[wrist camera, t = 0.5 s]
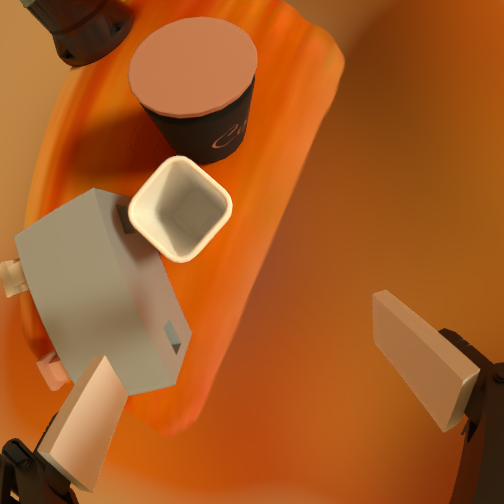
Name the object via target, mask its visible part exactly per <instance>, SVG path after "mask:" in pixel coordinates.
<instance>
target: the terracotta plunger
mask: <svg viewBox="0 0 504 504" xmlns="http://www.w3.org/2000/svg"><path fill="white" fill-rule="evenodd" d="M36 364H37V366H38V368H39V370H40V372H41V374H42V375H43V377H44V379H45V381H46V382H47V384H48V386H49V387H50V389H51V391H55V390H59V389H60V387H61V386H62V385H63V384H64V383H65V382H66V381H67V380H68V379H71V378H70V376H69V374H68V372H67V371H66V369H65V367H64V365H63V363H62V361H61V360H60V358H59V356H58V354H57V352H56V350H55V349H54V350H51V351H50V352H48V353H47V354H46V355H44V356H43V357H42V358H41V359H39V360H38V361H37V362H36Z"/></svg>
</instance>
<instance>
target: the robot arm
mask: <svg viewBox="0 0 504 504" xmlns="http://www.w3.org/2000/svg"><path fill="white" fill-rule="evenodd" d="M20 1H21V3H22V4H23V6H24V8H27V9H28V10H29V11H30V12H31V14H33V16H34V17H35V18H36V19H37V20H38V21H39V22H40V23H41V24H42V25H43V26H44V27H45V28H46V29H47V30H48V31H49V32H50V33H51V34H52V36H53V40H54V43H55V47H56V50H57V53H58V55H59V57H60V58H61V59H62V60H63V61H64V62H65V63H66V64H68V65H70V66H82V65H86V64H89V63H92V62H94V61H96V60H98V59H100V58H102V57H104V56H105V55H107V54H108V53H110V52H111V51H112V50H114V49H115V48H116V47H117V46H118V45H119V44H120V43H121V42H122V41H123V40H124V39H125V38H126V36H127V35H128V33H129V32H130V30H131V28H132V25H133V15H132V13H131V10H130V8H129V7H128V6H127V5H126V4H125V3H124V2H122V1H121V0H20ZM372 302H373V327H374V328H373V331H374V343H375V344H376V345H377V347H378V348H379V349H380V350H381V352H382V353H383V354H384V355H385V357H386V358H387V359H388V360H389V362H390V363H391V364H392V365H393V366H394V368H395V369H396V370H397V372H398V373H399V374H400V375H401V377H402V378H403V379H404V381H405V382H406V383H407V385H408V386H409V387H410V388H411V390H412V391H413V392H414V394H415V395H416V396H417V398H418V399H419V400H420V401H421V403H422V404H423V406H424V407H425V408H426V410H427V411H428V412H429V414H430V415H431V416H432V418H433V419H434V420H435V422H436V423H437V424H438V426H439V427H440V428H441V430H442V431H443V432H446V431H447V430H449V429H451V428H452V427H454V426H455V425H457V424H458V423H460V421H461V418H462V416H463V414H464V413H465V414H466V416H467V417H468V420H467V422H466V424H465V426H464V429H463V431H462V433H461V435H464V433H465V431H466V433H465V439H464V445H463V450H462V456H461V461H460V466H459V470H458V474H457V478H456V482H455V486H454V489H453V493H452V496H451V499H450V502H449V504H504V363H496V364H493V363H492V362H491V361H489V360H488V359H487V358H486V357H485V356H484V355H482V354H481V353H480V352H479V351H478V350H477V349H475V348H474V347H473V346H472V345H470V344H469V343H468V342H467V341H465V340H463V338H462V337H461V336H459V335H458V334H457V333H456V332H454V331H451V330H448V329H446V328H444V329H442V330H440V331H438V332H437V331H436V330H435V329H434V328H432V327H431V326H430V325H429V324H428V323H427V322H425V321H424V320H423V319H422V318H421V317H419V316H418V315H417V314H416V313H414V312H413V311H412V310H411V309H410V308H408V307H407V306H406V305H405V304H403V303H402V302H401V301H400V300H398V299H397V298H396V297H395V296H393V295H392V294H391V293H390V292H388V291H387V290H383V291H380V292H377V293H374V294H372ZM127 398H128V393H127V391H126V390H125V388H124V387H123V385H122V383H121V382H120V380H119V378H118V377H117V375H116V373H115V372H114V370H113V368H112V366H111V365H110V363H109V361H108V359H107V357H106V356H105V355H100V356H94V357H93V358H92V360H91V361H90V363H89V364H88V366H87V367H86V369H85V370H84V372H83V373H82V375H81V376H80V378H79V380H78V381H77V383H76V384H75V386H74V388H73V389H72V391H71V392H70V394H69V396H68V397H67V399H66V400H65V402H64V404H63V405H62V407H61V409H60V410H59V411H58V412H57V413H56V414H55V415H54V416H53V418H52V420H51V421H50V423H49V426H47V428H46V432H44V433H43V435H42V437H41V439H40V440H39V442H38V444H37V446H36V448H35V450H34V452H33V453H32V452H31V451H30V450H29V449H28V448H27V447H26V446H25V445H24V444H23V443H22V441H20V440H19V439H17V438H14V439H11V440H9V441H8V442H7V443H6V444H5V445H4V446H3V449H2V454H3V455H4V456H3V455H2V454H0V504H79V503H78V500H77V498H76V495H75V493H74V492H73V490H72V489H71V488H70V484H71V483H72V484H73V485H75V486H76V487H77V488H78V489H80V490H83V491H87V492H92V493H93V492H94V489H95V486H96V483H97V480H98V477H99V474H100V471H101V467H102V465H103V462H104V459H105V456H106V453H107V450H108V447H109V445H110V442H111V439H112V436H113V434H114V431H115V428H116V426H117V423H118V420H119V418H120V415H121V413H122V410H123V408H124V405H125V403H126V400H127ZM11 491H12V492H13V493H15V494H16V495H17V496H18V497H19V501H17V500H15V499H14V498H13V497H12V496H10V493H11Z"/></svg>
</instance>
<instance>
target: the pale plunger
mask: <svg viewBox="0 0 504 504" xmlns="http://www.w3.org/2000/svg"><path fill="white" fill-rule="evenodd" d="M0 277H1V281H2V284H3V287H4V290H5V293H6V296H7V298H9V297H12V296H15V295H17V294H20V293H23V292H26V291H28V290H30V289H29V287H28V284H27V281H26V278H25V275H24V272H23V268H22V265H21V262H20V259H15V260H10V261H5V262H2V263H0Z"/></svg>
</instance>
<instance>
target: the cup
mask: <svg viewBox="0 0 504 504" xmlns="http://www.w3.org/2000/svg"><path fill="white" fill-rule="evenodd" d="M231 212H232V201H231V197H230V195H229V194H228V193H227V191H226V190H225V189H224V188H223V187H221V186H220V185H219V184H218V183H217V182H216V181H215V180H213V179H212V178H211V177H210V176H209V175H208V174H207V173H205V172H204V171H203V170H202V169H201V168H200V167H199V166H197V165H196V164H195V163H194V162H193V161H192V160H190V159H188V158H186V157H185V156H174V157H170V158H168V159H167V160H165V161H164V162H163V163H162V164H161V165H160V166H159V167H158V168H157V169H156V171H155V172H154V173H153V174H152V175H151V176H150V178H149V179H148V180H147V181H146V182H145V183H144V185H143V186H142V187H141V188H140V189H139V191H138V192H137V193H136V194H135V196H134V197H133V198H132V200H131V202H130V204H129V207H128V217H129V221H130V222H131V224H132V225H133V227H134V228H135V229H136V230H137V231H138V232H139V233H141V234H142V235H143V236H144V237H145V238H146V239H147V240H148V241H149V242H150V243H151V244H152V245H153V246H154V247H155V248H157V249H158V250H159V251H160V252H161V253H162V254H163V255H164V256H165V257H166V258H168V259H170V260H171V261H173V262H179V263H183V262H186V261H190V260H191V259H192V258H193V257H195V256H196V255H197V254H198V253H199V252H200V251H201V250H202V249H203V248H204V247H205V246H206V245H207V243H208V242H209V241H210V240H211V239H212V238H213V237H214V235H215V234H216V233H217V232H218V231H219V230H220V229H221V228H222V226H223V225H224V224H225V223H226V222H227V221H228V219H229V217H230V216H231Z"/></svg>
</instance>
